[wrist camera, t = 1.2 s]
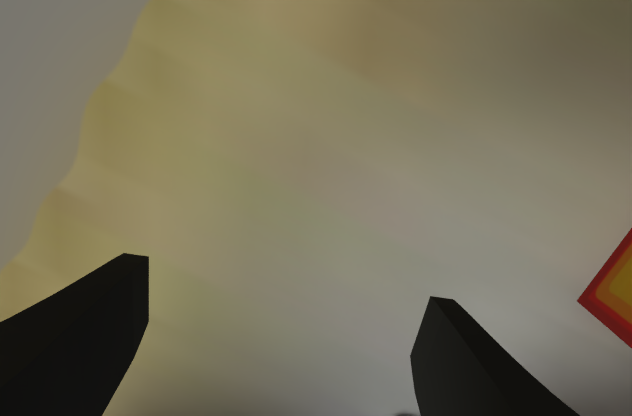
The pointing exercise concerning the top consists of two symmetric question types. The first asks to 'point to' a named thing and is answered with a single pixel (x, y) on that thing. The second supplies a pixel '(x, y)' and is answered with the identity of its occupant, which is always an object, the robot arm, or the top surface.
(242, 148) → the top surface
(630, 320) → the baking soda box
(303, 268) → the top surface
